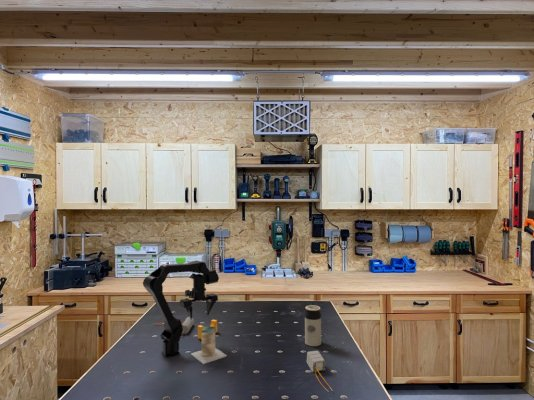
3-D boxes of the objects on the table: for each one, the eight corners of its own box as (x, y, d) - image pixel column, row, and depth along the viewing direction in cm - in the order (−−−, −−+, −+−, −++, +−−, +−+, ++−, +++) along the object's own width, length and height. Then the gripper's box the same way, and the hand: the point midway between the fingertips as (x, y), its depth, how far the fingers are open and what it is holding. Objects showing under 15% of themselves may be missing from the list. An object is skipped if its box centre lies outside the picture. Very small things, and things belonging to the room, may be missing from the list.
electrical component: (342, 399, 130) (343, 387, 129) (327, 401, 129) (328, 389, 128) (316, 358, 153) (317, 348, 152) (304, 360, 151) (305, 350, 150)
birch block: (201, 356, 157) (201, 330, 157) (204, 351, 162) (204, 326, 162) (212, 357, 157) (212, 330, 157) (215, 352, 162) (215, 326, 162)
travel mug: (309, 338, 177) (309, 304, 177) (323, 342, 173) (323, 306, 173) (302, 344, 171) (301, 308, 171) (316, 348, 166) (316, 311, 166)
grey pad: (203, 364, 151) (203, 363, 151) (190, 354, 160) (190, 353, 160) (226, 356, 158) (226, 355, 158) (213, 347, 168) (213, 346, 168)
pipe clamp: (203, 340, 177) (203, 328, 177) (197, 338, 179) (197, 326, 179) (219, 333, 186) (219, 321, 186) (213, 331, 189) (213, 319, 189)
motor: (196, 322, 202) (194, 314, 202) (187, 337, 180) (185, 328, 180) (156, 329, 202) (155, 320, 202) (143, 345, 180) (141, 335, 180)
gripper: (208, 280, 185) (208, 309, 185) (174, 286, 174) (175, 317, 174) (218, 284, 176) (218, 314, 176) (184, 290, 165) (184, 323, 165)
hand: (199, 317), depth 173 cm, fingers open, 9 cm apart
